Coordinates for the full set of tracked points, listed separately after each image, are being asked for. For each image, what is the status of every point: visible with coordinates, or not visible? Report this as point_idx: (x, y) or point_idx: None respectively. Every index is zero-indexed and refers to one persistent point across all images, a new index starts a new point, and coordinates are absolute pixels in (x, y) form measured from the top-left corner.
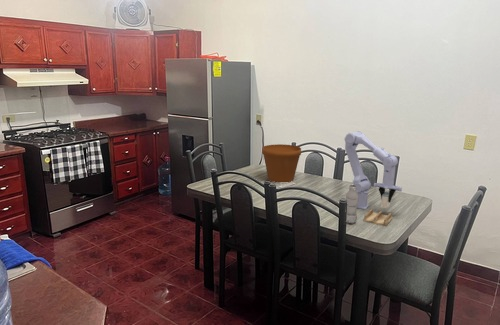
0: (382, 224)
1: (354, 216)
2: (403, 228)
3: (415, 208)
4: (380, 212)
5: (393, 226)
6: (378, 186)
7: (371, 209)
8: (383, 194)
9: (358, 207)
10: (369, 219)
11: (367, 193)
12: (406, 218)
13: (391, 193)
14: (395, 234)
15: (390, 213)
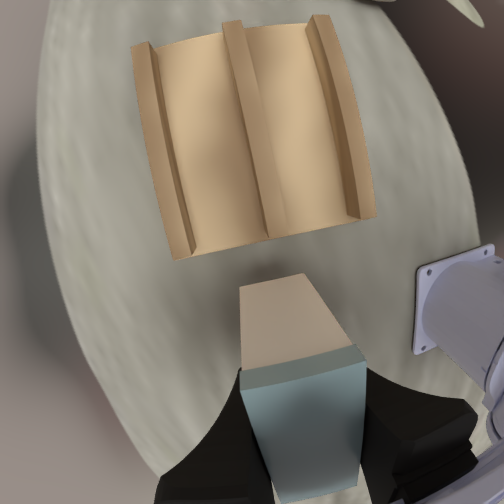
0: (164, 48)
1: None
2: (44, 135)
3: None
4: (265, 189)
5: (98, 104)
6: (490, 461)
7: (368, 204)
8: (350, 388)
9: (455, 256)
10: (287, 46)
11: (488, 363)
12: (113, 329)
13: (202, 466)
14: (59, 21)
15: (177, 242)
